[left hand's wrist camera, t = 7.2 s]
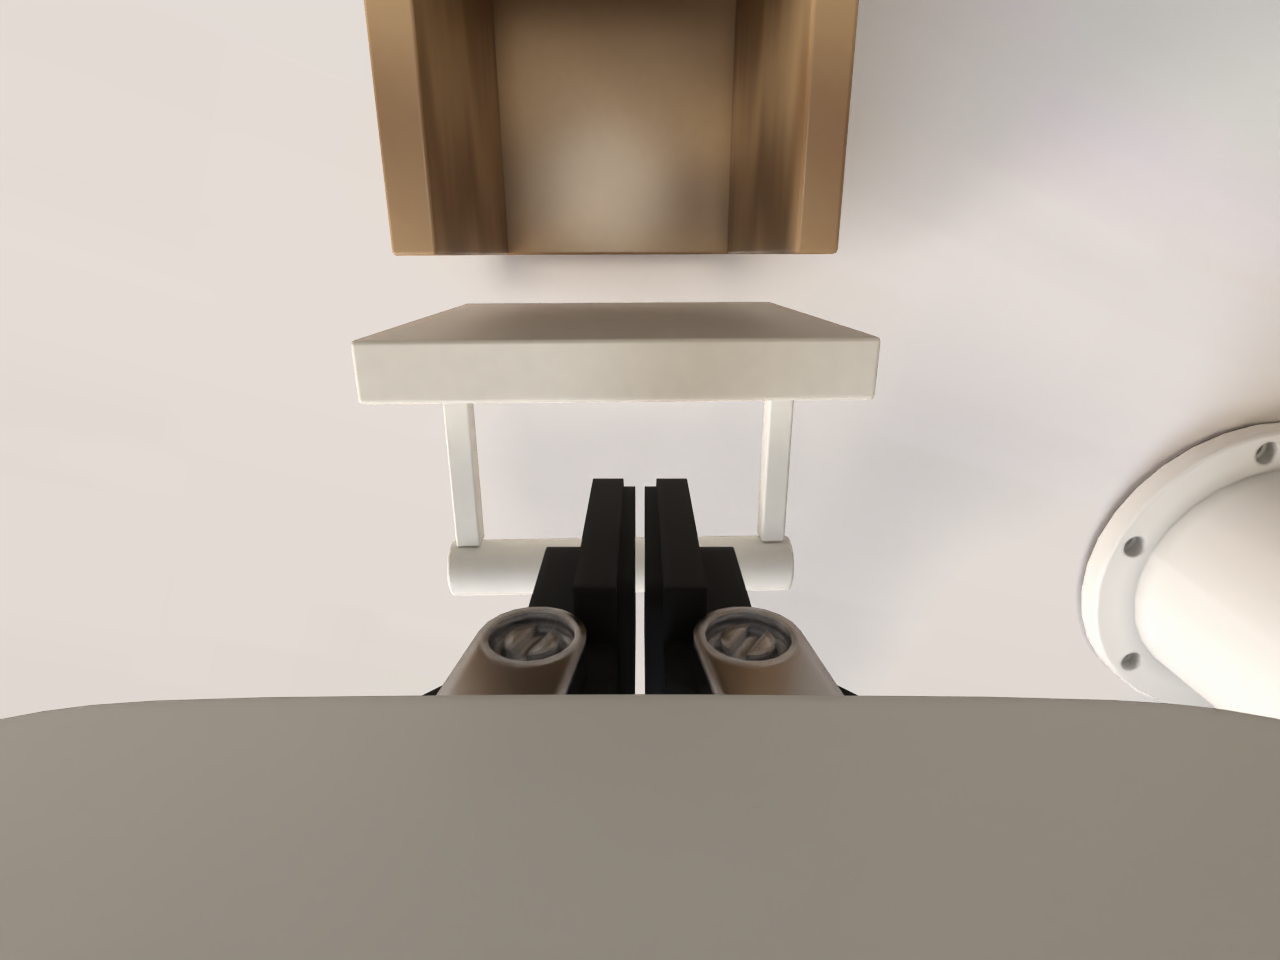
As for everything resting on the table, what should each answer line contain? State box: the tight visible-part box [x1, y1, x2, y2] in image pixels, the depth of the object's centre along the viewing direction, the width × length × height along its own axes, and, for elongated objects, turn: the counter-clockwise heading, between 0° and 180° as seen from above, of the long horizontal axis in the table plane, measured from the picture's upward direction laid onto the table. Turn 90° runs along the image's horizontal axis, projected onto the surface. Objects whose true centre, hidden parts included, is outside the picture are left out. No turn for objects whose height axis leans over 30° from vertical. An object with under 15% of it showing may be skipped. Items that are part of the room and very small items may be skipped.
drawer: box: [351, 0, 880, 595], centre depth 16 cm, size 21×10×10 cm, turn 0°
